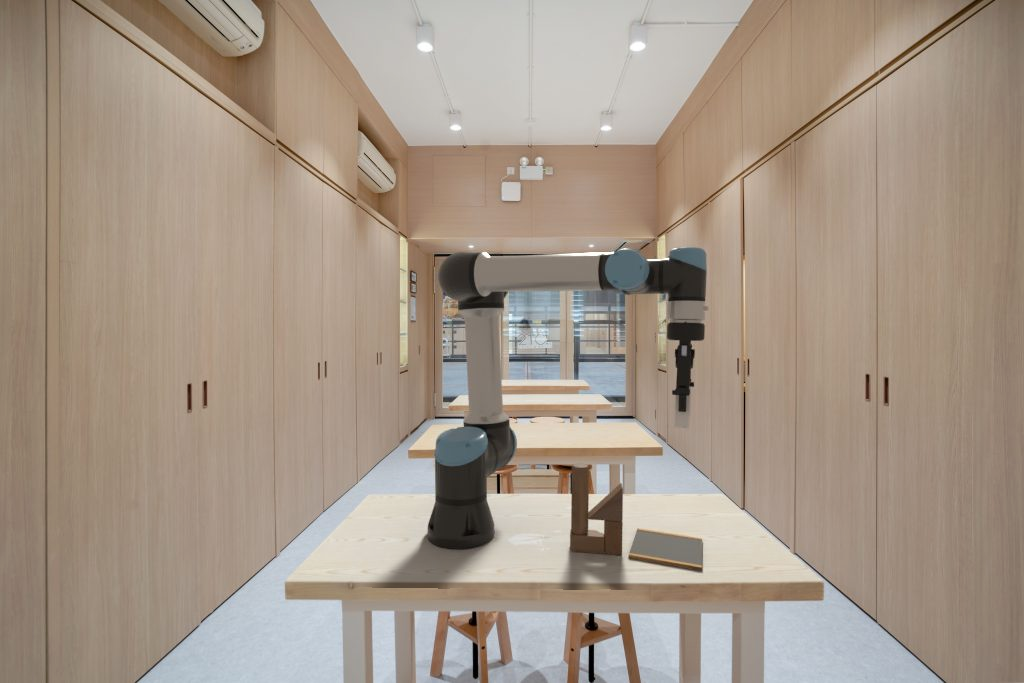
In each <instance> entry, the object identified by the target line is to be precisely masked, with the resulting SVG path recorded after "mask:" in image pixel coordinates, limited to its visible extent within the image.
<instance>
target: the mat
mask: <svg viewBox="0 0 1024 683" xmlns="http://www.w3.org/2000/svg"><path fill="white" fill-rule="evenodd" d="M628 559H632V560H638V561H643V562H644V561H645V562H648V563H649V562H650V563H654V564H661V565H666V566H672V567H678V568H683V569H689V570H695V571H700V572H702V570H703V569H702V568H703V537H697V536H691V535H690V536H689V535H684V534H683V535H682V534H677V533H670V532H664V531H657V530H651V529H645V528H636V531H635V535H634V537H633V541H632V543H631V546H630V550H629V552H628Z"/></svg>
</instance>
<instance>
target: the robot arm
mask: <svg viewBox="0 0 1024 683" xmlns="http://www.w3.org/2000/svg"><path fill="white" fill-rule="evenodd" d="M707 274H708V272H707V253H706V250H705V249H704V248H701V247H697V246H695V247H694V246H683V247H676V248H672V249H670V250H669V253H668V256H667V258H666V257H665V258H661V259H659V258H655V259H651V258H649V259H647V258H646V257H645V255H643V254H642V253H641V252H640V251H638V250H635V249H632V248H631V249H630V248H620V249H618V250H616V251H611V252H584V253H583V252H582V253H580V252H579V253H559V254H558V253H555V254H554V253H553V254H531V255H528V254H527V255H510V256H509V255H508V256H507V255H506V256H505V255H504V256H491V255H490V254H488V253H487V252H468V251H467V252H466V251H459V252H454V253H452V254H450V255H449V256H447V257H446V258H445V259H444V260H443V261H442V263H441V264H440V267H439V269H438V274H437V275H438V276H437V278H438V284H439V287H440V289H441V291H443V293H444V295H446V296H447V297H448V298H450V299H452V300H453V301H456V302H457V311H458V313H459V314H460V315H461V316H462V317H463V318H464V331H465V334H464V336H465V352H466V353H465V356H466V358H465V359H466V372H467V375H466V376H467V379H466V380H467V395H468V400H467V401H468V414H467V415H466V416H465V418H463V426H458V427H456V428H450V429H447V430H444V431H442V432H441V433H440V434H439V435H438V436H437V438H436V440H435V448H434V463H435V465H434V467H435V468H434V474H435V475H434V476H435V477H434V478H435V479H434V480H435V482H434V483H435V486H434V488H435V494H434V495H435V500H434V505H433V508H432V511H431V514H430V517H429V519H428V520H429V521H428V524H427V540H428V541H429V542H431V543H432V544H434V545H436V546H438V547H441V548H445V549H454V550H455V549H456V550H457V549H459V550H463V549H470V548H475V547H479V546H482V545H484V544H487V543H488V542H490V541H491V540H492V539H493V538H494V537H495V521H494V518H493V516H492V511H491V509H490V506H489V502H488V492H487V491H488V486H487V485H488V477H490V476H491V475H493V474H495V473H496V472H498V471H500V470H502V469H503V468H505V467H506V466H507V465H508V464H509V462H511V461H512V459H513V458H514V457H515V455H516V452H517V449H518V439H517V436H516V433H515V431H514V429H513V428H511V426H510V425H511V423H510V417H509V415H508V414H506V412H504V403H503V384H502V364H501V362H502V360H501V341H500V340H501V339H500V338H501V337H500V323H499V322H500V320H499V317H500V315H501V314H502V313H503V312H504V311H505V298H506V296H508V293H509V292H554V291H555V292H563V291H565V292H566V291H567V292H568V291H569V292H570V291H571V292H572V291H573V292H575V291H579V292H581V291H583V292H584V291H612V292H613V293H614V294H616V295H627V296H630V295H655V294H657V295H658V294H660V295H665V294H667V305H666V306H667V308H666V311H667V312H666V314H667V315H666V319H667V320H669V322H668V324H666V325H667V326H666V339H667V340H668V341H678V345H677V347H676V348H675V349H674V358H675V361H674V362H675V368H676V380H675V386H676V387H675V389H673V390H672V391H671V394H672V396H675V402H674V404H675V405H674V428H679V429H680V428H681V429H690V417H691V400H692V388H694V387H695V382H692V377H691V376H692V369H693V368H694V359H695V355H696V349H695V348H693V344H692V342H697V341H698V342H701V341H704V339H705V333H706V332H705V329H706V328H705V327H706V324H704V323H702V321H705V318H706V314H705V311H706V312H707V311H709V306H707V305H705V304H706V292H707Z"/></svg>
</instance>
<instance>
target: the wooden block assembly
mask: <svg viewBox="0 0 1024 683" xmlns="http://www.w3.org/2000/svg"><path fill="white" fill-rule="evenodd" d="M589 478H590V466H589V465H588V464H585V463H573V464H572V465H571V500H570V501H571V512H570V513H571V516H570V517H571V518H570V519H571V520H570V523H571V524H570V526H571V528H570V531H569V532H570V534H569V551H570V552H574V553H575V552H576V553H577V552H578V553H589V554H601V555H602V554H603V555H604V554H605V555H616V556H622V554H623V525H624V524H623V518H624V517H623V516H624V515H623V514H624V513H623V512H624V511H623V510H624V509H623V507H624V505H623V504H624V500H623V498H624V488H623V484H622V482H620V483H619V484H618V485H616V486H615V487H614V488H613V489H612V491H610V492H609V493H608V494H607V495H606V496H605V497H604V498H602V500H600V501H599V502H598V503H597V504H596V505H595V506H594V507H592V508H591V510H589V499H590V498H589V493H590V490H589V488H590V487H589V486H590V485H589V482H590V481H589V480H590V479H589ZM589 520H593V521H603V522H604V523H603V525H604V526H603V527H604V528H603V533H602V532H600V531H598V530H595V529H589Z"/></svg>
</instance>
